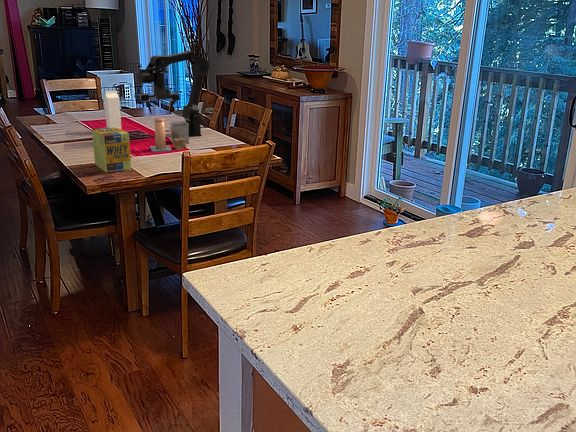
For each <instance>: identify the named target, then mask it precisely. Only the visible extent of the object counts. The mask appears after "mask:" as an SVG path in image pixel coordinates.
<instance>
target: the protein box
mask: <svg viewBox="0 0 576 432" xmlns="http://www.w3.org/2000/svg"><path fill="white" fill-rule="evenodd" d="M91 135H92V146H93V157H94V165H95V166H96V167H98V168H99V169H101V170H102V171H103V172H104V173H106V174H110V173H116V172H126V171H131V170H132V161H131V160H132V159H131V158H132V157H131V148H130V145H131V144H130V133H129V132H127V131H125V130H124V129H122V128H121V129H119V128H117V127H109V128H107V127H98V128H97V127H96V128H91Z"/></svg>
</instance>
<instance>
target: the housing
mask: <svg viewBox="0 0 576 432" xmlns="http://www.w3.org/2000/svg"><path fill="white" fill-rule="evenodd" d="M189 137H190V136H189V130H188V123H186V121H171V122H169V139H170V140H169V141H170V142H171V143H172V145H173V139H176V138H183V139H185V140H186V144H190V138H189Z"/></svg>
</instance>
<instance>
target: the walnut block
mask: <svg viewBox="0 0 576 432" xmlns="http://www.w3.org/2000/svg"><path fill="white" fill-rule="evenodd" d="M172 146H173V147H172V148H173V149H175V150H178V151H179V149H180V150H185V149H184V148H186V149H187V143H186V140H185V139H183V138H176V139H173V144H172Z"/></svg>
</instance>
